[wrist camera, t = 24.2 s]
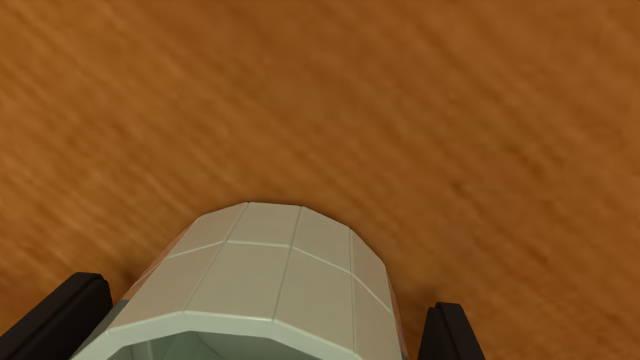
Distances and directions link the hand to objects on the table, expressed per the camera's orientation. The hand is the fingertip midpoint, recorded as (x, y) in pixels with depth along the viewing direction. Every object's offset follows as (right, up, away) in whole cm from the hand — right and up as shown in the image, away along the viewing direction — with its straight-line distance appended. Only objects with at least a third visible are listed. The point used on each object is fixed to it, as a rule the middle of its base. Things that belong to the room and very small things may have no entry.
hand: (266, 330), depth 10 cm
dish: (0, +1, +1) cm, 1 cm away
